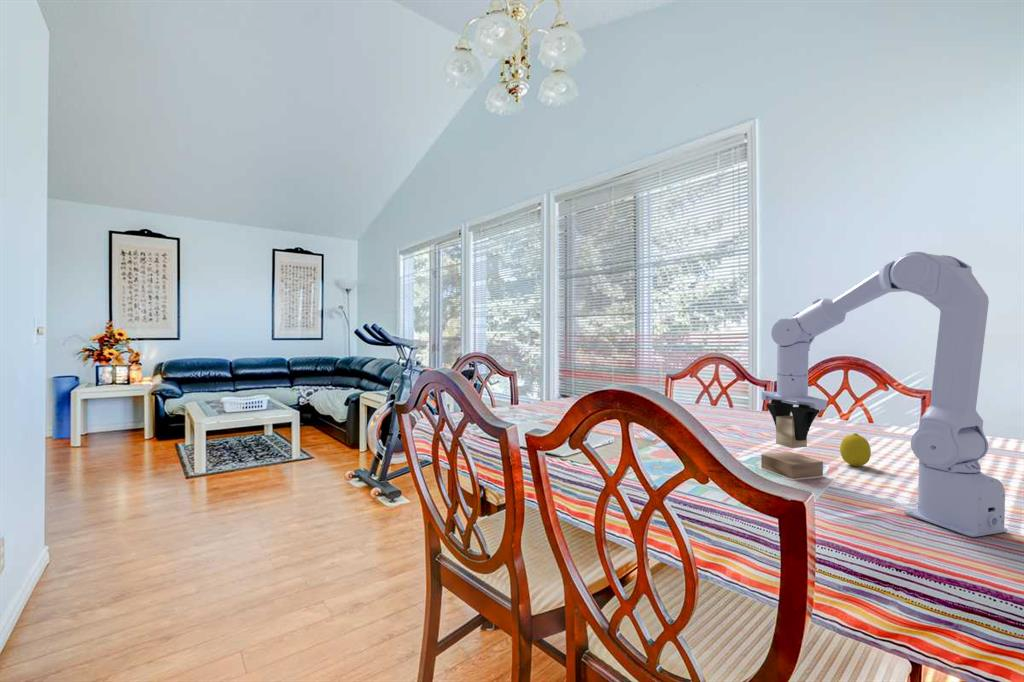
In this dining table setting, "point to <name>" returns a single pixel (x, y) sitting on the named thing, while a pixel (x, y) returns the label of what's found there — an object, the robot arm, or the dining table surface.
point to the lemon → (855, 450)
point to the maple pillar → (787, 433)
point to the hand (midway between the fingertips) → (791, 437)
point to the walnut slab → (792, 465)
